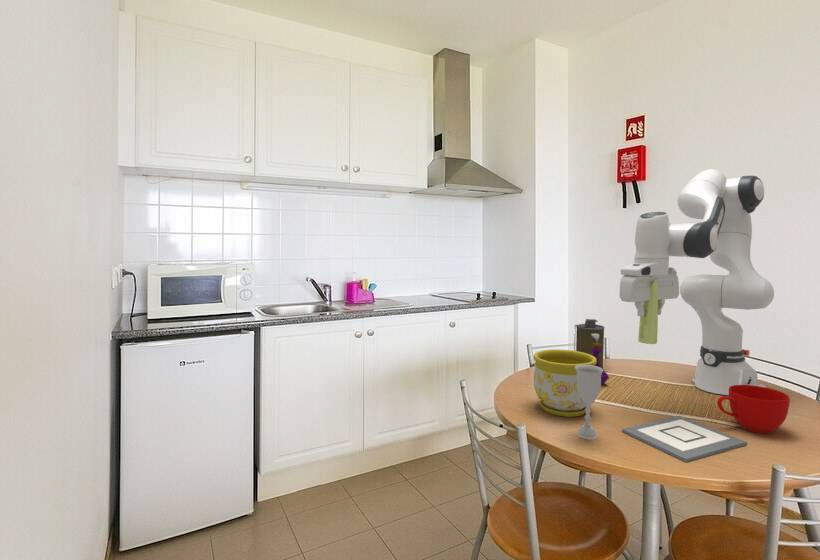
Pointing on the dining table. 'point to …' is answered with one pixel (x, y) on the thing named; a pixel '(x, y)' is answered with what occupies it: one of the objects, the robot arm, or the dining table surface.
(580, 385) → the chalice
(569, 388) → the flowerpot
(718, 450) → the picture frame
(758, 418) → the ceramic cup
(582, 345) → the canister
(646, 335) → the tube
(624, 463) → the dining table surface
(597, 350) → the perfume bottle
